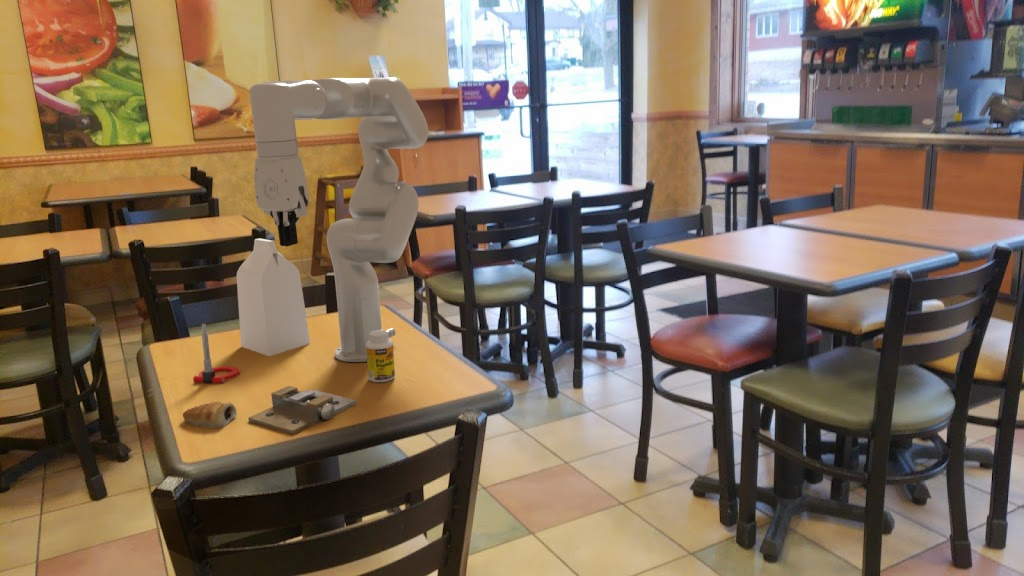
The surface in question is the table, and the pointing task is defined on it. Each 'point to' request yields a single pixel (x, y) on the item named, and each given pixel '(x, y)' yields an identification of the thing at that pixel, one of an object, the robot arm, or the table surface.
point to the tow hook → (209, 372)
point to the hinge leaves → (297, 409)
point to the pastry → (210, 414)
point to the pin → (322, 409)
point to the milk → (270, 302)
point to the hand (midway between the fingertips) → (289, 244)
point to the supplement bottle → (380, 357)
